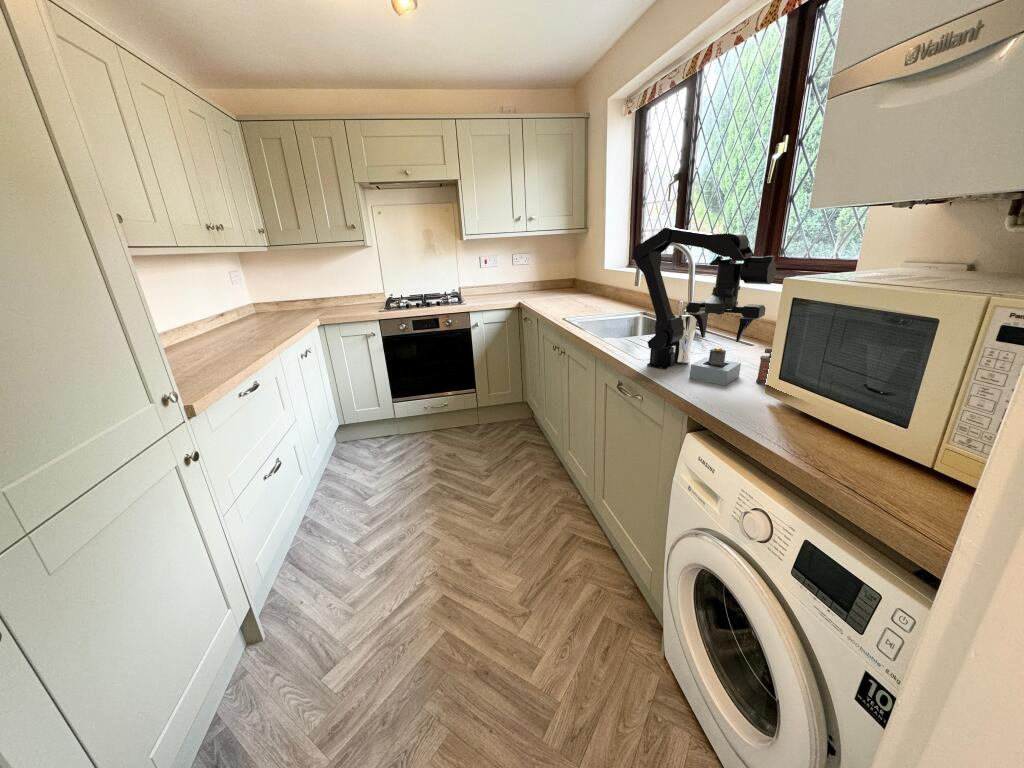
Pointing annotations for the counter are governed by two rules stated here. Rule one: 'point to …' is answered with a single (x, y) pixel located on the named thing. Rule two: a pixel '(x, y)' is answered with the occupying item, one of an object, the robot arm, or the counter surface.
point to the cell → (717, 357)
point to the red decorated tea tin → (764, 367)
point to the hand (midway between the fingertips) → (719, 339)
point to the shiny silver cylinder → (685, 339)
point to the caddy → (715, 372)
